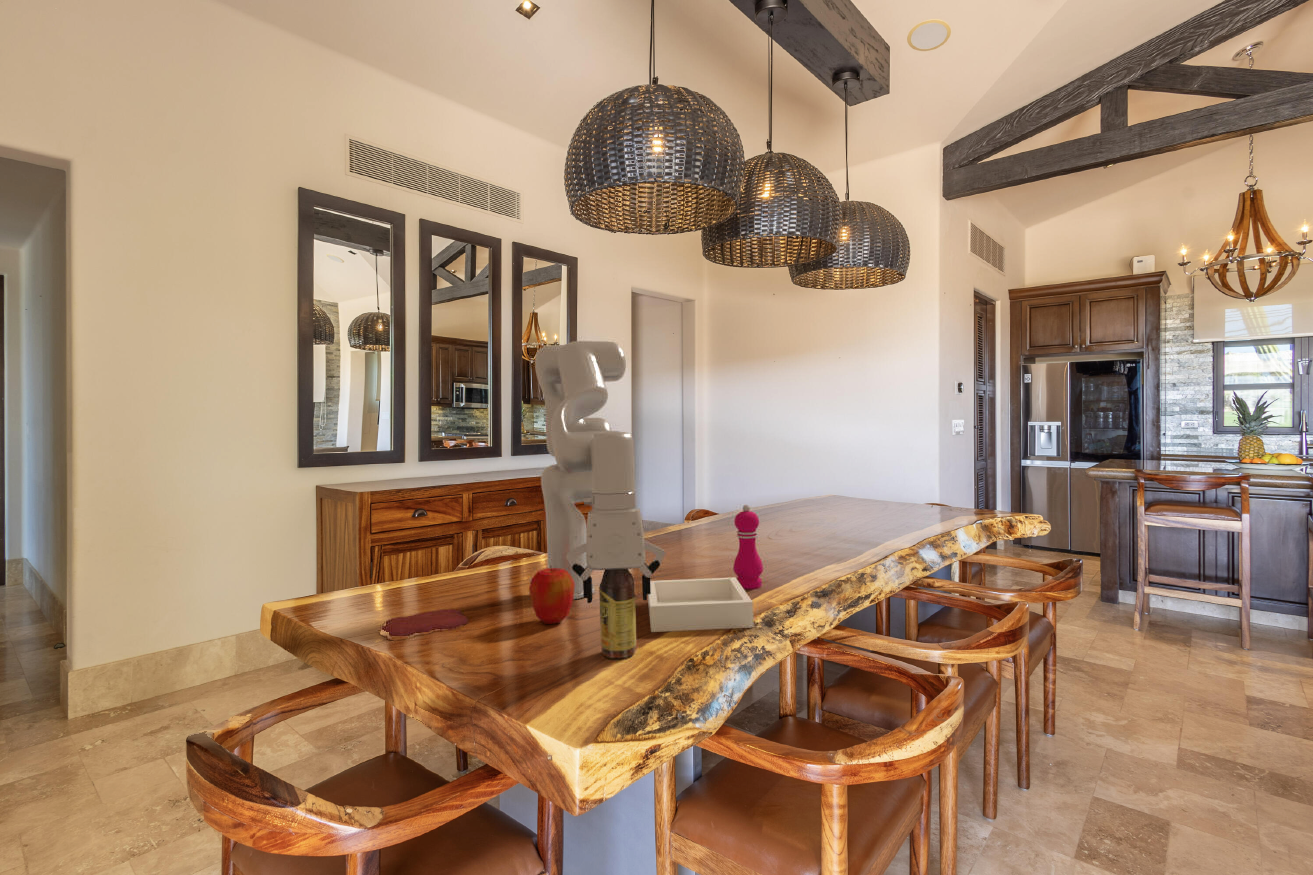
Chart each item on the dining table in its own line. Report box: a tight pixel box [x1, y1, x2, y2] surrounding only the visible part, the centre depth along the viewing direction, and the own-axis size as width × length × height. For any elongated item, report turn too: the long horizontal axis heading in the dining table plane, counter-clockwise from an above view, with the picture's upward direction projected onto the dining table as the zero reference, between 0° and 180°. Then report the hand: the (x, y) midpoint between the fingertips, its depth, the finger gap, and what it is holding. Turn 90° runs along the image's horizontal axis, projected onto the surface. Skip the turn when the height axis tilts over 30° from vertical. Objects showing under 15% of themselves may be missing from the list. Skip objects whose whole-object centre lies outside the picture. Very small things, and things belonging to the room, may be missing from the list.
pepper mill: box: [733, 504, 764, 590], centre depth 152 cm, size 7×7×20 cm
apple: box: [528, 565, 575, 625], centre depth 128 cm, size 9×9×12 cm
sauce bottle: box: [598, 569, 637, 659], centre depth 109 cm, size 7×6×20 cm
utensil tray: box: [647, 576, 754, 633], centre depth 131 cm, size 20×20×5 cm
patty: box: [381, 608, 469, 636], centre depth 129 cm, size 18×14×2 cm
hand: (617, 599), depth 109 cm, fingers open, 9 cm apart
